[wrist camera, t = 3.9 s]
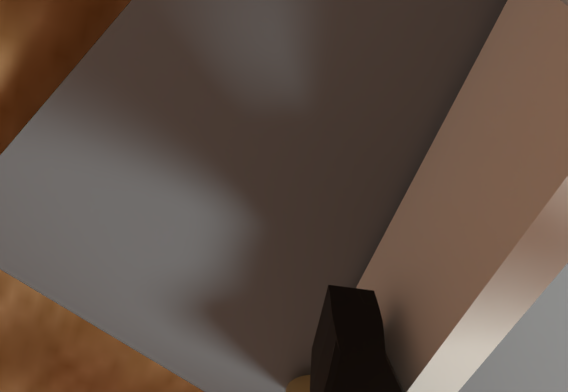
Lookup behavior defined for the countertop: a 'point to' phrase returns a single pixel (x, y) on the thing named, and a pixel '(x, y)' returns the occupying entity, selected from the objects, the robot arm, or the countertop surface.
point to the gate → (480, 209)
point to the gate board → (245, 180)
